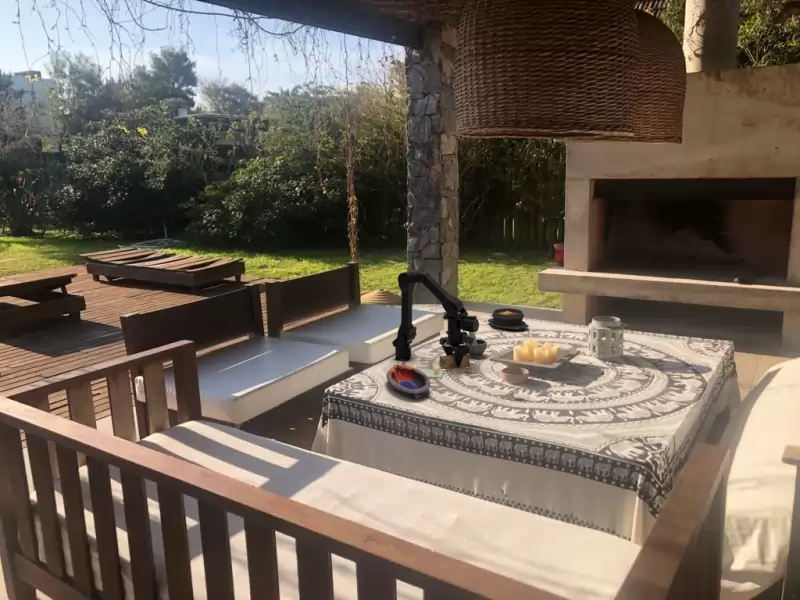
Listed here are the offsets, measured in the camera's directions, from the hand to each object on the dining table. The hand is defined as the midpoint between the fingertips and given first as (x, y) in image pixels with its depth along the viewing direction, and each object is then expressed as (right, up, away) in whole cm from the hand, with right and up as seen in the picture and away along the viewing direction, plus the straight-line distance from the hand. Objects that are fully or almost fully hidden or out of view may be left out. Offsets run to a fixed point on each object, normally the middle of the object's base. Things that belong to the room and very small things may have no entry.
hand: (454, 364), depth 276 cm
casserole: (+33, +13, +63) cm, 73 cm away
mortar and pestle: (+11, +2, +14) cm, 18 cm away
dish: (-20, -7, -23) cm, 31 cm away
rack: (-13, -3, -9) cm, 16 cm away
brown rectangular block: (0, -1, 0) cm, 1 cm away
